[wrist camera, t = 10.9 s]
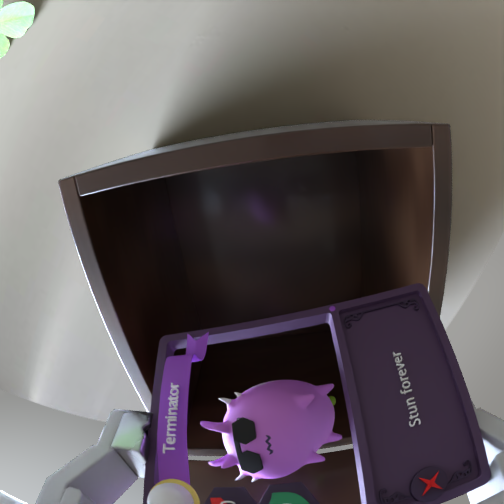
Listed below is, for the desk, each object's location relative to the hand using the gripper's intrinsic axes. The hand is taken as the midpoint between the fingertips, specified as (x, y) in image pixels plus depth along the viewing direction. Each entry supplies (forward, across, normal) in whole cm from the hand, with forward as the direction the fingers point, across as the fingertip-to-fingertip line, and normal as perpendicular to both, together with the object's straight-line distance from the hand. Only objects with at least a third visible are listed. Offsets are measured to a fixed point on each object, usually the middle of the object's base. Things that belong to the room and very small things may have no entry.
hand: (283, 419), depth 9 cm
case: (+14, 0, 0) cm, 14 cm away
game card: (+3, -1, 0) cm, 3 cm away
